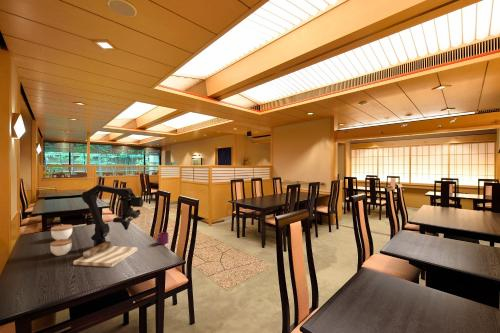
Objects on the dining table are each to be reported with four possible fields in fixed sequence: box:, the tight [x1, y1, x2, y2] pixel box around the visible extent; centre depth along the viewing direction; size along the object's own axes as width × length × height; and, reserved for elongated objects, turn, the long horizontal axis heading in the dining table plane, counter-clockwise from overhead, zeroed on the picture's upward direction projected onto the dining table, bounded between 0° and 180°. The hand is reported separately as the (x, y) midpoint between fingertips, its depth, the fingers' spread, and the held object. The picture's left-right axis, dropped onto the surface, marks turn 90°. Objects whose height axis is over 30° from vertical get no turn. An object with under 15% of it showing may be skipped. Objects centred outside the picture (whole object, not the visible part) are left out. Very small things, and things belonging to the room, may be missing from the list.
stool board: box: [73, 245, 139, 268], centre depth 139 cm, size 23×24×2 cm
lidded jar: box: [49, 238, 73, 257], centre depth 143 cm, size 11×11×9 cm
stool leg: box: [82, 240, 112, 258], centre depth 140 cm, size 20×3×3 cm, turn 173°
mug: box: [156, 231, 169, 245], centre depth 162 cm, size 7×10×7 cm
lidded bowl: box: [50, 223, 73, 241], centre depth 170 cm, size 13×13×11 cm
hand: (126, 229), depth 154 cm, fingers closed
